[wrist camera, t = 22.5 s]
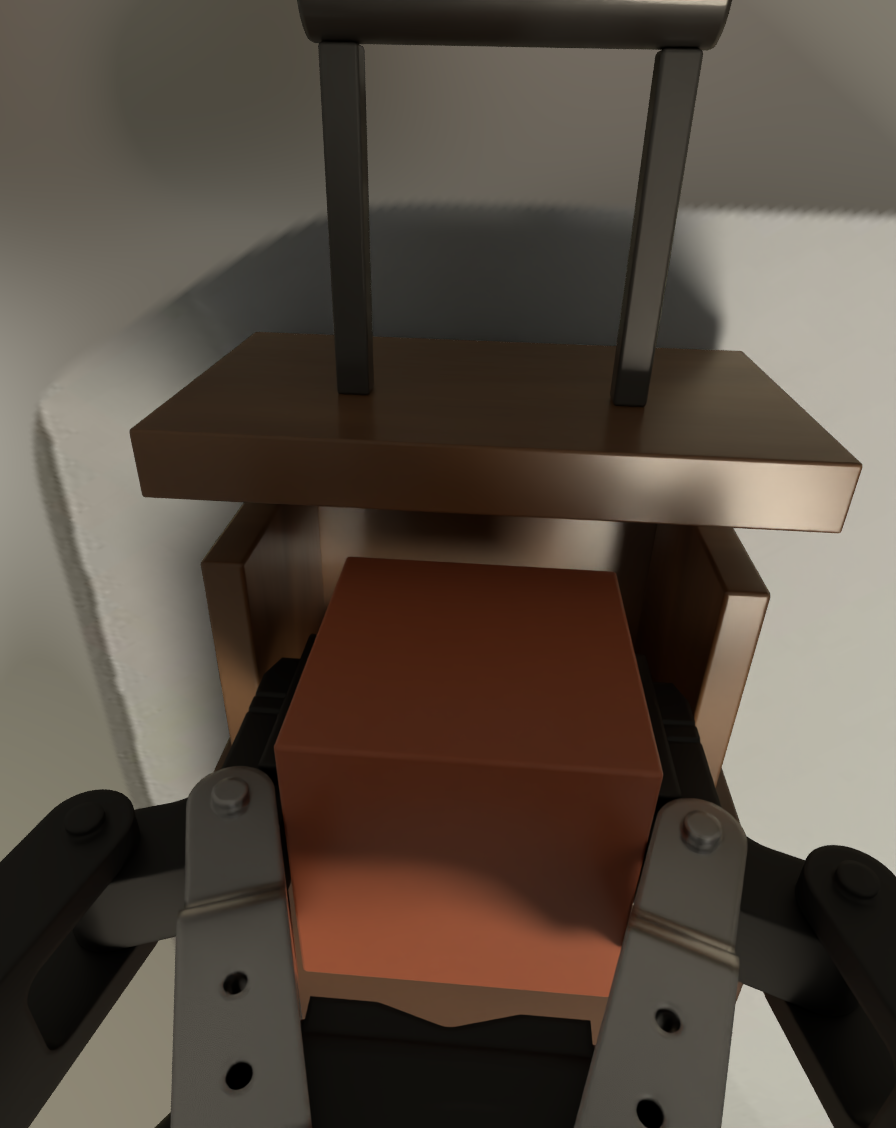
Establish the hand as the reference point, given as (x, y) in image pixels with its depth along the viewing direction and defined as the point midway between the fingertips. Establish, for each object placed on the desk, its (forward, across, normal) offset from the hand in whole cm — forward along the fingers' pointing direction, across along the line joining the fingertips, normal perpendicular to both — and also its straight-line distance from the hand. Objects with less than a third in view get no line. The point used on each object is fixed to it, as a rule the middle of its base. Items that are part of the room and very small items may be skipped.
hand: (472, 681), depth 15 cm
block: (0, 0, 0) cm, 0 cm away
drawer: (+6, 0, -2) cm, 6 cm away
